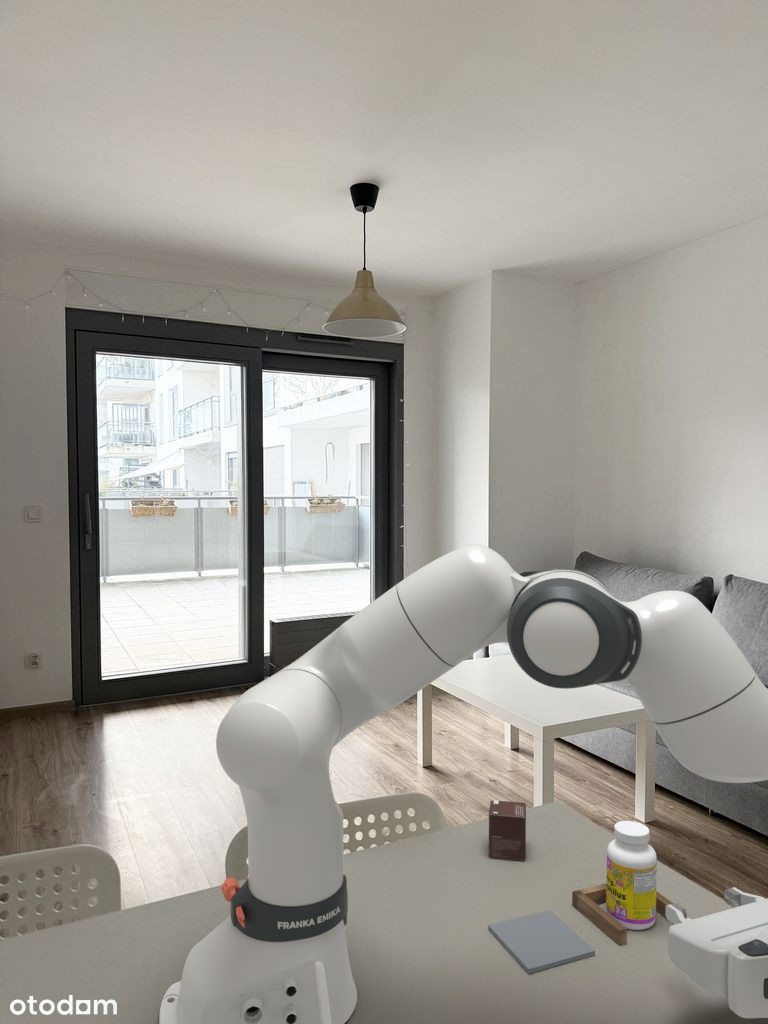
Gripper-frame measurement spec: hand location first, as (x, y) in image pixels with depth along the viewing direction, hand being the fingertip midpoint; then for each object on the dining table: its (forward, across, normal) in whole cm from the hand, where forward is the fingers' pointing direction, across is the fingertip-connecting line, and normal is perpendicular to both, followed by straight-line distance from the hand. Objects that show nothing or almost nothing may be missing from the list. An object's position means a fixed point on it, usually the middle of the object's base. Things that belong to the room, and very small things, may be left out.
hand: (699, 901), depth 91 cm
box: (+35, +6, +9) cm, 37 cm away
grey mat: (+12, +15, +8) cm, 21 cm away
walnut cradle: (+12, 0, +9) cm, 15 cm away
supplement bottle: (+12, 0, +9) cm, 15 cm away
